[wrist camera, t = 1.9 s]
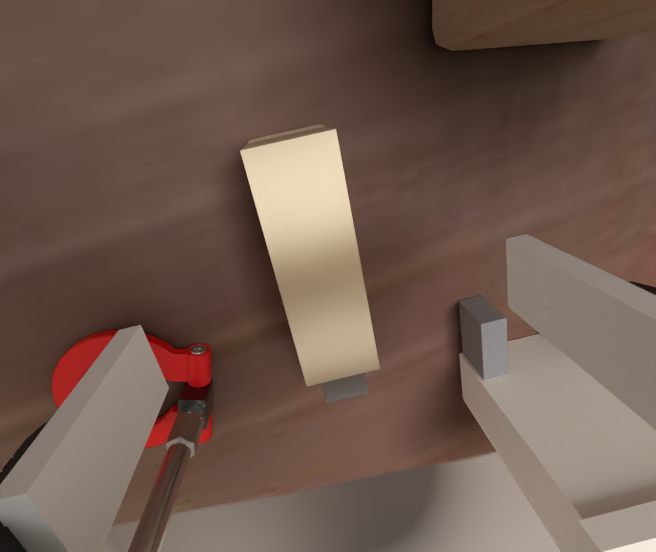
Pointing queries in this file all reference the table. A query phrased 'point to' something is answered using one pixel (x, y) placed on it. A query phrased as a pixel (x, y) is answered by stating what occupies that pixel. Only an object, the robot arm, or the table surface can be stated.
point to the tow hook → (173, 427)
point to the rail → (314, 255)
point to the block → (536, 21)
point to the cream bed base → (560, 436)
